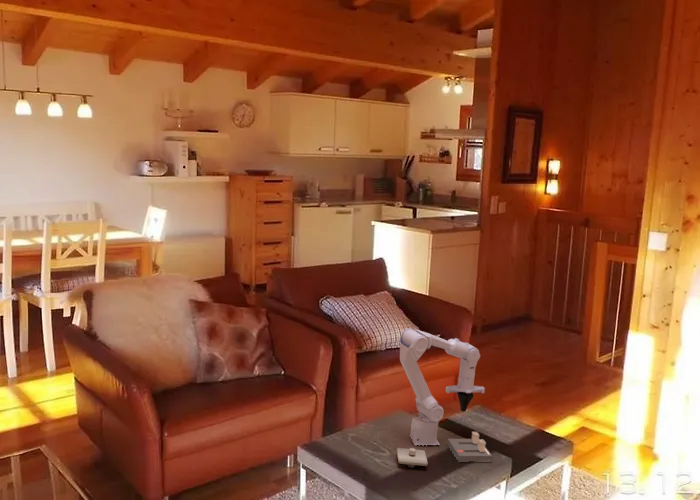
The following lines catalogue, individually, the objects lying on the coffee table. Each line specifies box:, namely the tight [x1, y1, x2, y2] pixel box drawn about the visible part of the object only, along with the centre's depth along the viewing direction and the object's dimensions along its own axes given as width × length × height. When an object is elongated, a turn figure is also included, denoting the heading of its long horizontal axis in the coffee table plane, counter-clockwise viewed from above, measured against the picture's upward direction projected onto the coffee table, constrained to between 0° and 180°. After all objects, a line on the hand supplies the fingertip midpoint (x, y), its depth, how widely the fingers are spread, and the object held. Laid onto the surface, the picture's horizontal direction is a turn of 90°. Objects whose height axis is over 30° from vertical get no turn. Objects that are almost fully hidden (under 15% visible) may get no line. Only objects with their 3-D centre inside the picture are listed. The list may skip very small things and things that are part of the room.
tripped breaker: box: [478, 438, 487, 452], centre depth 230 cm, size 2×3×4 cm
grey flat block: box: [446, 438, 493, 463], centre depth 233 cm, size 12×13×2 cm
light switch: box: [396, 447, 428, 469], centre depth 222 cm, size 10×10×5 cm
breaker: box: [471, 431, 480, 444], centre depth 236 cm, size 2×3×4 cm
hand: (463, 410), depth 245 cm, fingers closed
